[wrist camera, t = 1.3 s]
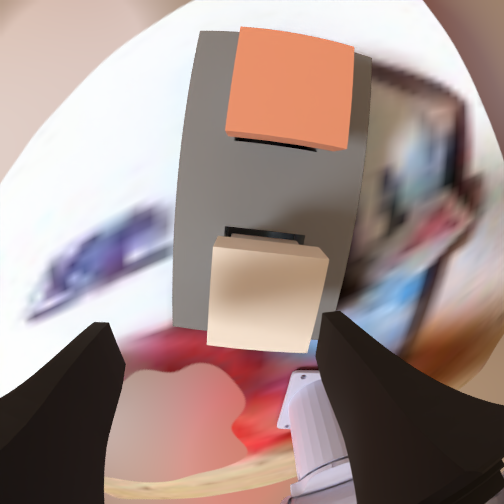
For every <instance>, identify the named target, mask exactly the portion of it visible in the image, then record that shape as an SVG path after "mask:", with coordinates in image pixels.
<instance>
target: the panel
mask: <svg viewBox="0 0 504 504" xmlns="http://www.w3.org/2000/svg"><path fill="white" fill-rule="evenodd" d="M239 33H240V32H229V31H200V34H199V39H198V43H197V48H196V53H195V58H194V63H193V69H192V74H191V80H190V86H189V92H188V98H187V105H186V112H185V119H184V126H183V134H182V142H181V151H180V160H179V171H178V182H177V194H176V208H175V224H174V245H173V290H172V306H173V326H176V327H183V328H190V329H198V330H205V331H208V312H209V296H210V280H211V266H212V253H213V246H214V243H215V241H216V239H217V237H218V236H225V237H227V230H228V226H229V227H238V228H247V229H256V230H265V231H274V232H282V233H290V234H295V236H294V240H296V241H297V242H298V244H299V245H305V246H314V247H319V248H320V249H321V250H322V251H323V253H324V254H325V255H326V256H327V257H328V258H329V264H328V269H327V273H326V278H325V283H324V287H323V291H322V296H321V300H320V304H319V309H318V313H317V317H316V321H315V325H314V329H313V333H312V336H311V339H313V340H318V338H319V332H320V326H321V319H322V313H324V312H333V311H335V310H336V306H337V303H338V299H339V295H340V291H341V287H342V283H343V278H344V274H345V270H346V265H347V261H348V256H349V251H350V247H351V242H352V237H353V231H354V226H355V221H356V215H357V209H358V203H359V197H360V191H361V184H362V177H363V170H364V162H365V153H366V144H367V135H368V124H369V111H370V95H371V71H372V58H370V57H367V56H364V55H361V54H357V53H354V70H353V88H352V103H351V115H350V126H349V136H348V145H347V149H344V150H339V151H328V150H323V149H318V148H312V147H307V150H302V149H295V148H289V147H282V146H275V145H268V144H260V143H251V142H242V141H237V140H238V137H230V136H228V135H227V133H226V131H225V127H226V119H227V111H228V104H229V97H230V90H231V83H232V76H233V70H234V63H235V57H236V51H237V45H238V39H239Z"/></svg>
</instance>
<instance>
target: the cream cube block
mask: <svg viewBox="0 0 504 504" xmlns="http://www.w3.org/2000/svg"><path fill="white" fill-rule="evenodd" d="M328 264H329V258H328V257H327V256H326V255H325V254H324V253H323V251H322V250H321V249H320V248H319V247H314V246H305V245H299V244H298V242H297V241H296V240H287V239H279V238H270V237H261V236H252V235H243V234H234V233H232V235H231V237H225V236H218V237H217V239H216V241H215V243H214V246H213V253H212V266H211V280H210V296H209V312H208V331H207V345H211V346H219V347H228V348H238V349H249V350H261V351H275V352H294V353H307V351H308V348H309V344H310V340H311V336H312V333H313V329H314V325H315V321H316V317H317V313H318V309H319V304H320V300H321V296H322V291H323V287H324V283H325V278H326V273H327V269H328Z"/></svg>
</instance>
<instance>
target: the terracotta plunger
mask: <svg viewBox="0 0 504 504" xmlns="http://www.w3.org/2000/svg"><path fill="white" fill-rule="evenodd" d="M353 70H354V47H352V46H349V45H345V44H342V43H338V42H334V41H330V40H326V39H321V38H317V37H312V36H307V35H302V34H297V33H291V32H284V31H278V30H270V29H261V28H251V27H241V28H240V33H239V39H238V45H237V51H236V57H235V63H234V70H233V76H232V83H231V90H230V97H229V104H228V111H227V119H226V127H225V131H226V133H227V135H228V136H230V137H240V138H250V139H259V140H267V141H274V142H281V143H288V144H295V145H301V146H307V147H312V148H318V149H323V150H328V151H339V150H344V149H347V145H348V136H349V126H350V115H351V103H352V88H353Z"/></svg>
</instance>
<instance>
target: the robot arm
mask: <svg viewBox="0 0 504 504" xmlns="http://www.w3.org/2000/svg"><path fill="white" fill-rule="evenodd" d="M316 360H317V365H318V369H319V370H296V371H294V372H292V374H291V378H290V381H289V385H288V388H287V392H286V395H285V399H284V402H283V406H282V409H281V412H280V416H279V419H278V422H277V427H278V428H279V429H291V435H292V442H293V449H294V456H295V463H296V470H297V477H298V482H296V483H294V484H291V485H290V487H291V496H287V497H286V498H284V499H283V500H282V502H281V503H280V504H504V472H502V473H501V472H500V470H501V469H502V468H503V467H504V463H503V461H502V458H503V457H504V405H499V404H495V403H491V402H488V401H485V400H481V399H478V398H475V397H472V396H470V395H467V394H464V393H462V392H460V391H457V390H455V389H453V388H451V387H449V386H446V385H444V384H442V383H440V382H438V381H436V380H435V379H433V378H431V377H429V376H427V375H426V374H424V373H422V372H421V371H419V370H417V369H416V368H414V367H412V366H411V365H409V364H408V363H406V362H405V361H403V360H402V359H401V358H399V357H398V356H396V355H395V354H393V353H392V352H391V351H389V350H388V349H387V348H385V347H384V346H383V345H381V344H380V343H379V342H378V341H376V340H375V339H374V338H373V337H371V336H370V335H369V334H368V333H366V332H365V331H364V330H363V329H362V328H360V327H359V326H358V325H357V324H355V323H354V322H353V321H352V320H351V319H349V318H348V317H347V316H346V315H344V314H343V313H342V312H341V311H333V312H324V313H322V319H321V326H320V332H319V338H318V344H317V350H316ZM125 365H126V364H125V362H124V359H123V357H122V355H121V352H120V350H119V347H118V345H117V343H116V340H115V338H114V335H113V332H112V330H111V327H110V324H109V323H105V322H94V323H92V324H91V325H90V326H89V327H87V328H86V329H85V330H84V331H83V332H81V333H80V334H79V335H78V336H77V337H76V338H75V339H74V340H72V341H71V342H70V343H69V344H68V345H67V346H66V347H65V348H64V349H62V350H61V351H60V352H59V353H58V354H57V355H56V356H55V357H54V358H53V359H51V360H50V361H49V362H48V363H47V364H45V365H44V366H43V367H42V368H41V369H40V370H38V371H37V372H36V373H35V374H34V375H33V376H31V377H30V378H29V379H27V380H26V381H25V382H24V383H22V384H21V385H19V386H18V387H17V388H15V389H14V390H12V391H11V392H9V393H8V394H6V395H5V396H3V397H1V398H0V504H104V467H105V456H106V447H107V441H108V437H109V433H110V429H111V425H112V421H113V418H114V414H115V411H116V407H117V404H118V400H119V397H120V393H121V389H122V384H123V378H124V371H125ZM302 375H305V376H302Z"/></svg>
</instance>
